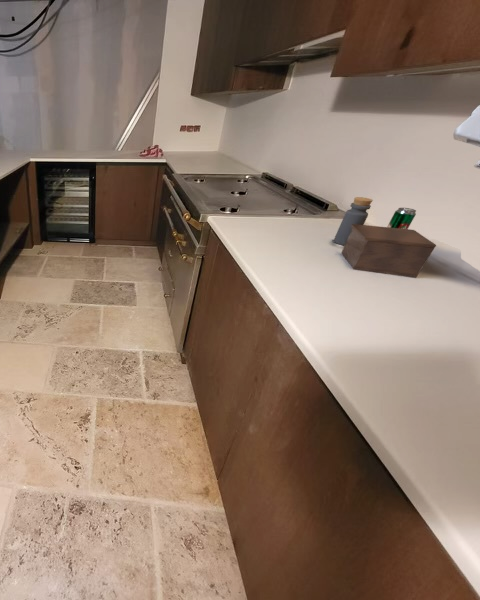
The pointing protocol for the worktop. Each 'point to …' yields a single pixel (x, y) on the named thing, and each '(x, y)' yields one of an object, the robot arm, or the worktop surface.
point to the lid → (392, 235)
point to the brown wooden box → (385, 256)
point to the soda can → (402, 218)
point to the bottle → (353, 218)
